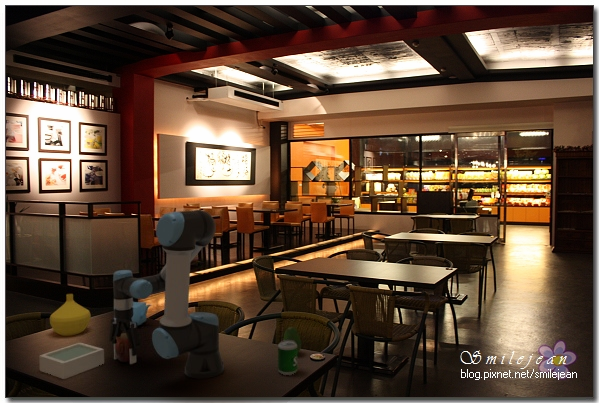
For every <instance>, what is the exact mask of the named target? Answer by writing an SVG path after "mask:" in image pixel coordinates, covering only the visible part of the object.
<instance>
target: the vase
mask: <svg viewBox="0 0 599 403" xmlns="http://www.w3.org/2000/svg"><path fill="white" fill-rule="evenodd" d="M91 318H92V317H91V312H90V310H89V309H87V308H86V307H84V306H82V305H80V304H78V303H77V302H76V301H75V300H74V294H73V293H67V294H66V301H65V302H64V303H63V304H62V305H61V306H60V307H59V308H57V309H56V310H55V311H54V312H53V313H52V314H51V315H50V317H49V324H50V326H51V328H52V330H53V331H54V332H55V333H56V334H58V335H59V336H61V337H63V336H64V337H71V336H77V335H78V334H81V333H82V332H84V331H85V329H86V328H87V327H88V326H89V323H90V321H91Z"/></svg>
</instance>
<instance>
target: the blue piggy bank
mask: <svg viewBox="0 0 599 403" xmlns="http://www.w3.org/2000/svg"><path fill="white" fill-rule="evenodd" d="M151 306H152V304H147V302H142V301H139V302H138V301H133V306H132V307H133V317H132V322H133V323H136V322H137V323H138V326H140V325H143V323H145V322H146V321H147V316H148V315H147V314H148V310H149V307H151ZM114 309H115V308H114V307H113V310H114ZM114 318H115V317H114V316H113V319H114Z"/></svg>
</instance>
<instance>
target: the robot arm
mask: <svg viewBox="0 0 599 403" xmlns="http://www.w3.org/2000/svg"><path fill="white" fill-rule="evenodd" d="M216 225H217V224H216V221H215V219H214V217H213V216H212V214H210V213H209V212H208V211H205V210H201V209H195V210H182V211H180V210H179V211H175V210H174V211H172V212H167V213H164V214H163V215H162V216H160V218H159V220H158V221H157V224H156V227H155V236H156V238H157V241H158V243H159V244H160V245H161V246H162V249H163V251H164V252H165V253H166V258H165V259H166V261H165V262H166V263H165V265H164V266H163V267H162V269H161V270H160V271H159V273H157V274H155V275H154V274H153V275H150V276H144V277H138V278H137V277H134V275H133V270H129V269H123V270H122V269H121V270H115V271H114V272H113V278H112V279H113V280H112V284H113V314H114V315H113V318H112V319H111V320H110V323H111V325H110V331H109V332H110V333H109V338H108V339H109V342H112V347H113V360H119V359H118V355H117V353H116V344H117V340H116V336H117V337H120V336H121V334H123V333H126V335H127V338H128V340H129V343H130V346H131V348H129V349H130V362H129V365H133V364H135V363H137V354H138V353H137V352H138V350H137V349H138V347H141V340H140V335H139V329H138V326H139V325H138V323H137V322H136V323H133V322H132V317H133V307H132V306H133V302H134V299H138V300H145V299H148V298H149V297H150V296H152V295H155V294H160V293H164V308H163V309H164V310H163V313H164V314H163V316H162V317H161V318H159V326H158V327H157V328H155V329H154V330H153V331H152V334H151V340H152V341H151V342H152V344H153V348H154V350H155V351H156V353H157V354H158V355H159V356H160V357H161V358H163V359H166V360H170V359H172V358H177V357H179V356H182V355H185V354H186V353H188V356H187V359H186V363H185V365H184V374H185V376H186V377H188V378H192V379H197V380H199V379H200V380H201V379H202V380H204V379H210V378H214V377H217V376H219V375H221V374H222V373H223V372H224V371H225V369H224V368H225V365H224V362H223V360H222V356H221V352H220V328H219V327H220V324H219V316H218V315H217V314H215V313H211V312H207V311H205V312H204V311H196V312H191V313H189V299H190V296H189V295H190V277H191V262H192V261H193V260H194V259H195V258H196V256H197V255H198V254H199V253H200V251H202V248H206V247H207V246H208V245H210V243H211V241H212V239H214V236H215V234H216V230H217V229H216V228H217V227H216ZM114 308H115V309H114ZM114 317H115V318H114Z"/></svg>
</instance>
